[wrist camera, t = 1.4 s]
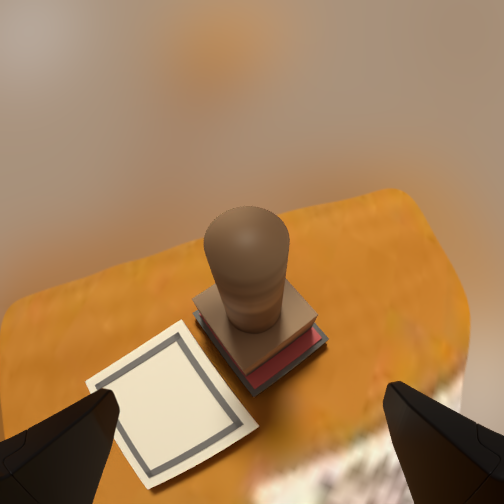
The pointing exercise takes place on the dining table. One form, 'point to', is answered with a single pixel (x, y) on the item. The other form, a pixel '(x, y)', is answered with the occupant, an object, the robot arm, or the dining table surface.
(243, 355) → the stamp
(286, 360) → the ink pad
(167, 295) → the dining table surface
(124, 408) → the marked board
